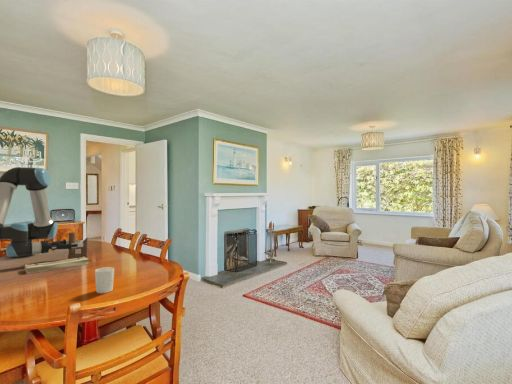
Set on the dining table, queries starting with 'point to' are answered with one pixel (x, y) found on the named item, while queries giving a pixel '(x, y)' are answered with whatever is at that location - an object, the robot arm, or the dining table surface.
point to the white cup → (104, 279)
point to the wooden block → (83, 249)
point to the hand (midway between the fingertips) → (80, 242)
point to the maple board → (56, 265)
